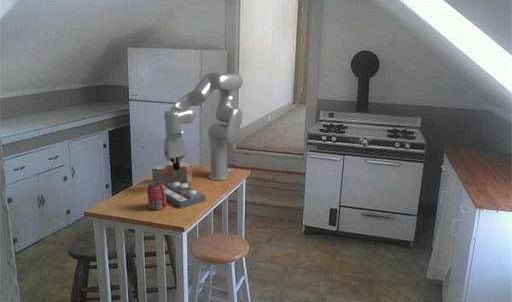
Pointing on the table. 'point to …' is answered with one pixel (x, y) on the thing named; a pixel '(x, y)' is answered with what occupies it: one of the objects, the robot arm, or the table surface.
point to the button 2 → (192, 192)
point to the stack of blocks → (173, 174)
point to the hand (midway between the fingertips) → (176, 169)
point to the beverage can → (156, 195)
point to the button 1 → (175, 184)
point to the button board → (182, 196)
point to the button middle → (183, 186)
